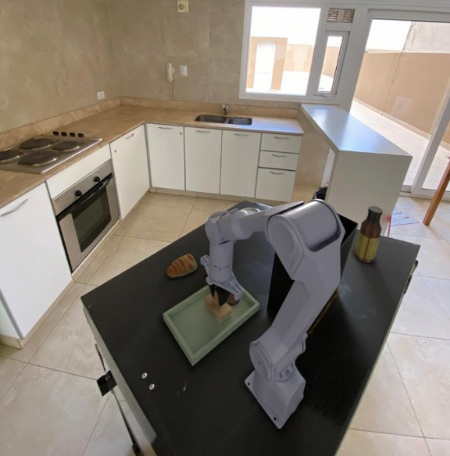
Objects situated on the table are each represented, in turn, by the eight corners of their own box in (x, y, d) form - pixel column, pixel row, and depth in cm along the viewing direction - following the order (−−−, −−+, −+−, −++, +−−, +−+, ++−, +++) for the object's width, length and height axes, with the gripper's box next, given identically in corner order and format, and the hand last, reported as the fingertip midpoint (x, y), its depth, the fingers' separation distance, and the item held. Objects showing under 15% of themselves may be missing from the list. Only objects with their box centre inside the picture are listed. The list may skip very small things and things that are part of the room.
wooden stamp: (231, 315, 67) (234, 291, 64) (220, 324, 64) (222, 299, 61) (214, 297, 71) (216, 273, 69) (203, 305, 69) (205, 280, 66)
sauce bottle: (374, 255, 90) (389, 208, 83) (372, 266, 85) (389, 217, 78) (354, 248, 94) (367, 201, 86) (351, 258, 89) (365, 210, 81)
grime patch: (243, 300, 71) (243, 298, 71) (230, 308, 68) (231, 306, 68) (233, 289, 74) (233, 287, 74) (221, 297, 72) (221, 294, 71)
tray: (259, 310, 69) (259, 303, 68) (192, 367, 56) (192, 360, 55) (226, 278, 78) (227, 272, 77) (163, 320, 65) (162, 313, 64)
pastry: (172, 284, 75) (172, 274, 74) (162, 270, 80) (162, 261, 79) (199, 269, 81) (199, 260, 80) (188, 257, 86) (188, 248, 84)
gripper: (190, 249, 64) (191, 288, 69) (227, 287, 54) (225, 330, 59) (212, 238, 69) (211, 276, 74) (250, 271, 59) (246, 312, 64)
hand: (219, 299), depth 67 cm, fingers closed on wooden stamp, 2 cm apart
